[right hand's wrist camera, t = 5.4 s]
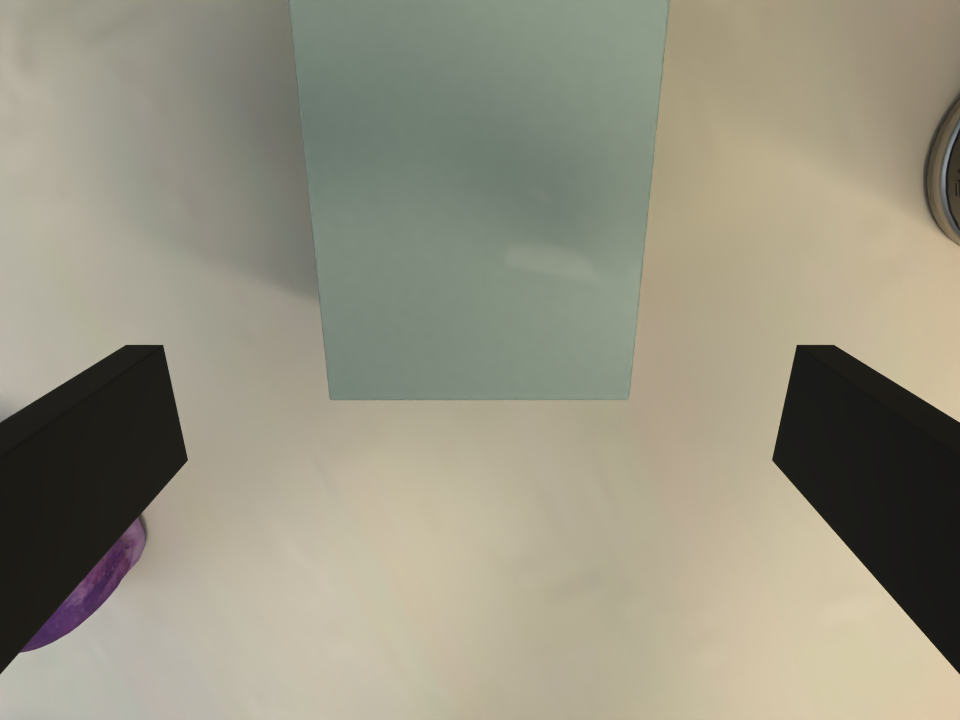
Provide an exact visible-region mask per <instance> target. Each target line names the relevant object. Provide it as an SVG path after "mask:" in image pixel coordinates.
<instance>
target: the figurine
mask: <svg viewBox="0 0 960 720" xmlns="http://www.w3.org/2000/svg"><path fill="white" fill-rule="evenodd" d="M144 545H145V530H144V529H143V527H142V524H141V522H140V519H139V517H138V518H137V519H136V520H135V521H134V522H133V523H132V524H131V526H130V527H129V528H128V529H127V530H126V531H125V532H124V534H123V535H122V536H121V537H120V538H119V539H118V540H117V542H116V543H115V544H114V545H113V546H112V547H111V548H110V550H109V551H108V552H107V553H106V554H105V555H104V556H103V558H102V559H101V560H100V561H99V562H98V563H97V564H96V566H95V567H94V568H93V569H92V570H91V571H90V572H89V574H88V575H87V576H86V577H85V578H84V579H83V580H82V582H81V583H80V584H79V585H78V586H77V587H76V588H75V590H74V591H73V592H72V593H71V594H70V595H69V596H68V598H67V599H66V600H65V601H64V602H63V603H62V604H61V606H60V607H59V608H58V609H57V610H56V611H55V612H54V614H53V615H52V616H51V617H50V618H49V619H48V620H47V621H46V623H45V624H44V625H43V626H42V627H41V628H40V629H39V631H38V632H37V633H36V634H35V635H34V636H33V637H32V639H31V640H30V641H29V642H28V643H27V644H26V645H25V647H24V648H23V649H22V650H21V651H20V652H19V653H21V652H27V651H31V650H35V649H38V648H41V647H43V646H45V645H48V644H50V643H52V642H54V641H56V640H58V639H59V638H61V637H63V636H64V635H66V634H68V633H70V632H71V631H72V630H74V629H75V628H76V627H78V626H79V625H80V624H81V623H82V622H84V621H85V620H86V619H87V618H88V617H89V616H91V615H92V614H93V613H94V612H95V611H96V610H97V609H98V608H99V607H100V606H101V605H102V604H103V603H104V602H105V601H106V600H107V599H108V597H109V596H110V595H111V594H112V593H113V591H114V590H115V589H116V588H117V587H118V585H119V583H120V581H121V580H122V578H123V577H124V576H125V575H126V573H127V572H128V571H129V570H130V569H131V568H132V567H133V566H134V565H135V564H136V563H137V562H138V560H139V558H140V556H141V554H142V551H143V548H144Z"/></svg>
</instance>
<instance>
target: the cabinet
mask: <svg viewBox="0 0 960 720" xmlns="http://www.w3.org/2000/svg"><path fill="white" fill-rule="evenodd" d="M669 1H670V0H289V9H290V19H291V28H292V38H293V48H294V57H295V67H296V77H297V87H298V96H299V106H300V116H301V125H302V135H303V145H304V154H305V164H306V174H307V184H308V193H309V203H310V213H311V222H312V232H313V242H314V251H315V261H316V271H317V281H318V290H319V300H320V310H321V319H322V329H323V339H324V349H325V358H326V368H327V378H328V387H329V397H330V400H628V399H629V393H630V383H631V373H632V363H633V353H634V344H635V334H636V324H637V314H638V304H639V295H640V285H641V275H642V265H643V255H644V246H645V236H646V226H647V216H648V206H649V197H650V187H651V177H652V167H653V157H654V148H655V138H656V128H657V118H658V109H659V99H660V89H661V79H662V69H663V60H664V50H665V40H666V30H667V20H668V11H669Z"/></svg>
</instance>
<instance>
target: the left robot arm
mask: <svg viewBox="0 0 960 720" xmlns="http://www.w3.org/2000/svg"><path fill="white" fill-rule="evenodd" d="M927 191H928V199H929V203H930V207H931V210H932V213H933V215H934V217H935V219H936V221H937V223H938V225H939V226H940V228H941V229H942V230H943V231H944V233H945V234H946V235H947V236H948V237H949V238H950V239H952V240H953V241H954V242H956V243H957V244H959V245H960V99H959V100H958V101H957V103H956V104H955V105H954V107H953V108H952V110H951V111H950V113H949V114H948V116H947V118H946V119H945V121H944V123H943V125H942V127H941V129H940V131H939V133H938V135H937V138H936V140H935V143H934V146H933V149H932V152H931V156H930V160H929V166H928V174H927Z"/></svg>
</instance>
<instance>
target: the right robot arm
mask: <svg viewBox="0 0 960 720" xmlns="http://www.w3.org/2000/svg"><path fill="white" fill-rule="evenodd" d="M187 461H188V458H187V454H186V449H185V445H184V440H183V435H182V431H181V426H180V421H179V417H178V412H177V407H176V403H175V398H174V394H173V389H172V384H171V380H170V375H169V370H168V366H167V361H166V356H165V352H164V347H163V345H125V346H124V347H122V348H120V349H119V350H117V351H116V352H114V353H112V354H111V355H109V356H107V357H106V358H104V359H103V360H101V361H99V362H98V363H96V364H94V365H93V366H91V367H90V368H88V369H86V370H85V371H83V372H82V373H80V374H78V375H77V376H75V377H73V378H72V379H70V380H69V381H67V382H65V383H64V384H62V385H60V386H59V387H57V388H56V389H54V390H52V391H51V392H49V393H47V394H46V395H44V396H43V397H41V398H39V399H38V400H36V401H35V402H33V403H31V404H30V405H28V406H26V407H25V408H23V409H22V410H20V411H18V412H17V413H15V414H13V415H12V416H10V417H9V418H7V419H5V420H4V421H2V422H0V674H1V673H2V672H3V671H4V669H5V668H6V667H7V666H8V665H9V664H10V663H11V661H12V660H13V659H14V658H15V657H16V656H17V655H18V653H19V652H20V651H21V650H22V649H23V648H24V647H25V645H26V644H27V643H28V642H29V641H30V640H31V639H32V637H33V636H34V635H35V634H36V633H37V632H38V631H39V629H40V628H41V627H42V626H43V625H44V624H45V623H46V621H47V620H48V619H49V618H50V617H51V616H52V615H53V614H54V612H55V611H56V610H57V609H58V608H59V607H60V606H61V604H62V603H63V602H64V601H65V600H66V599H67V598H68V596H69V595H70V594H71V593H72V592H73V591H74V590H75V588H76V587H77V586H78V585H79V584H80V583H81V582H82V580H83V579H84V578H85V577H86V576H87V575H88V574H89V572H90V571H91V570H92V569H93V568H94V567H95V566H96V564H97V563H98V562H99V561H100V560H101V559H102V558H103V556H104V555H105V554H106V553H107V552H108V551H109V550H110V548H111V547H112V546H113V545H114V544H115V543H116V542H117V540H118V539H119V538H120V537H121V536H122V535H123V534H124V532H125V531H126V530H127V529H128V528H129V527H130V526H131V524H132V523H133V522H134V521H135V520H136V519H137V518H138V516H139V515H140V514H141V513H142V512H143V511H144V510H145V508H146V507H147V506H148V505H149V504H150V503H151V502H152V501H153V499H154V498H155V497H156V496H157V495H158V494H159V493H160V491H161V490H162V489H163V488H164V487H165V486H166V485H167V483H168V482H169V481H170V480H171V479H172V478H173V477H174V475H175V474H176V473H177V472H178V471H179V470H180V469H181V467H182V466H183V465H184V464H185V463H186V462H187ZM772 461H773V462H774V463H775V464H776V465H777V466H778V467H779V469H780V470H781V471H782V472H783V473H784V474H785V475H786V477H787V478H788V479H789V480H790V481H791V482H792V483H793V485H794V486H795V487H796V488H797V489H798V490H799V491H800V493H801V494H802V495H803V496H804V497H805V498H806V499H807V501H808V502H809V503H810V504H811V505H812V506H813V507H814V508H815V510H816V511H817V512H818V513H819V514H820V515H821V516H822V518H823V519H824V520H825V521H826V522H827V523H828V524H829V526H830V527H831V528H832V529H833V530H834V531H835V532H836V534H837V535H838V536H839V537H840V538H841V539H842V540H843V542H844V543H845V544H846V545H847V546H848V547H849V548H850V550H851V551H852V552H853V553H854V554H855V555H856V556H857V558H858V559H859V560H860V561H861V562H862V563H863V564H864V566H865V567H866V568H867V569H868V570H869V571H870V572H871V574H872V575H873V576H874V577H875V578H876V579H877V580H878V582H879V583H880V584H881V585H882V586H883V587H884V588H885V590H886V591H887V592H888V593H889V594H890V595H891V596H892V598H893V599H894V600H895V601H896V602H897V603H898V604H899V606H900V607H901V608H902V609H903V610H904V611H905V612H906V614H907V615H908V616H909V617H910V618H911V619H912V620H913V621H914V623H915V624H916V625H917V626H918V627H919V628H920V629H921V631H922V632H923V633H924V634H925V635H926V636H927V637H928V639H929V640H930V641H931V642H932V643H933V644H934V645H935V647H936V648H937V649H938V650H939V651H940V652H941V653H942V655H943V656H944V657H945V658H946V659H947V660H948V661H949V663H950V664H951V665H952V666H953V667H954V668H955V669H956V671H957V672H958V673H959V674H960V422H958V421H956V420H955V419H953V418H951V417H950V416H948V415H947V414H945V413H943V412H942V411H940V410H938V409H937V408H935V407H934V406H932V405H930V404H929V403H927V402H925V401H924V400H922V399H921V398H919V397H917V396H916V395H914V394H913V393H911V392H909V391H908V390H906V389H904V388H903V387H901V386H900V385H898V384H896V383H895V382H893V381H891V380H890V379H888V378H887V377H885V376H883V375H882V374H880V373H878V372H877V371H875V370H874V369H872V368H870V367H869V366H867V365H866V364H864V363H862V362H861V361H859V360H857V359H856V358H854V357H853V356H851V355H849V354H848V353H846V352H844V351H843V350H841V349H840V348H838V347H836V346H835V345H797V347H796V352H795V356H794V361H793V366H792V370H791V375H790V380H789V384H788V389H787V394H786V398H785V403H784V407H783V412H782V417H781V421H780V426H779V431H778V435H777V440H776V445H775V449H774V454H773V458H772Z"/></svg>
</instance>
